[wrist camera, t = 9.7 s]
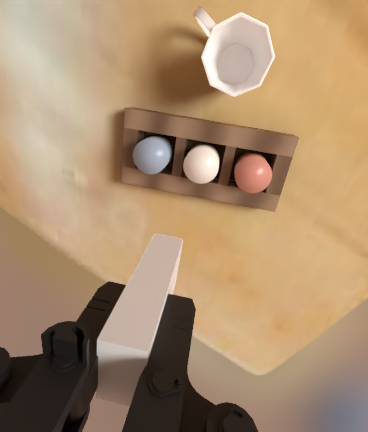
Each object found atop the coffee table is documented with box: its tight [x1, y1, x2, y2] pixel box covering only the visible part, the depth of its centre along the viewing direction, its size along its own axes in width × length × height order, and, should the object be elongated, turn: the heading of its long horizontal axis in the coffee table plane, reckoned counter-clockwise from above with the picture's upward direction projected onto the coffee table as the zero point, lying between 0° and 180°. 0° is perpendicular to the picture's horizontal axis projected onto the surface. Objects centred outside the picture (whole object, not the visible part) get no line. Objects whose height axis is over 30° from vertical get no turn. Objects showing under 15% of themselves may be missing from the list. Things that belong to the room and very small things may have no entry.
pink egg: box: [234, 152, 272, 193], centre depth 34 cm, size 4×4×4 cm
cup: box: [193, 7, 275, 97], centre depth 29 cm, size 7×10×8 cm
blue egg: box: [133, 135, 173, 174], centre depth 35 cm, size 4×4×4 cm
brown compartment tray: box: [121, 107, 299, 212], centre depth 36 cm, size 22×10×3 cm, turn 82°
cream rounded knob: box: [183, 143, 220, 184], centre depth 34 cm, size 4×4×4 cm
